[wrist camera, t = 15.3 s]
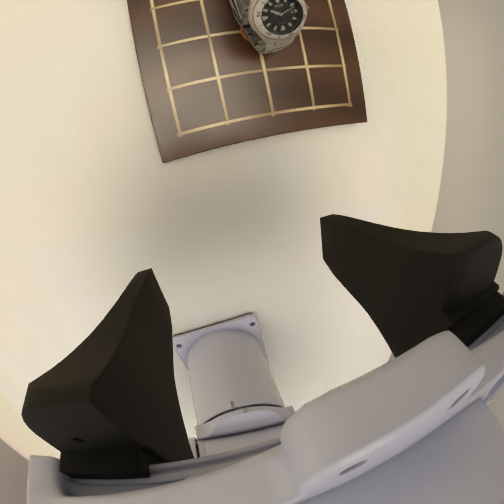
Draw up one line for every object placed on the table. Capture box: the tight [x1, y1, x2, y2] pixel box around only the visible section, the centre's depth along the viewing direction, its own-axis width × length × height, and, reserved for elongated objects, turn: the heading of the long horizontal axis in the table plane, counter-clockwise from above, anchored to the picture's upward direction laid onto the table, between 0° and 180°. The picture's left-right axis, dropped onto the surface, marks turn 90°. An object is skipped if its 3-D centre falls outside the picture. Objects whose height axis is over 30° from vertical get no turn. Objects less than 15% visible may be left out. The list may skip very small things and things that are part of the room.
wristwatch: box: [229, 0, 309, 54], centre depth 11 cm, size 4×6×5 cm, turn 25°
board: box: [127, 0, 367, 163], centre depth 14 cm, size 15×15×1 cm
